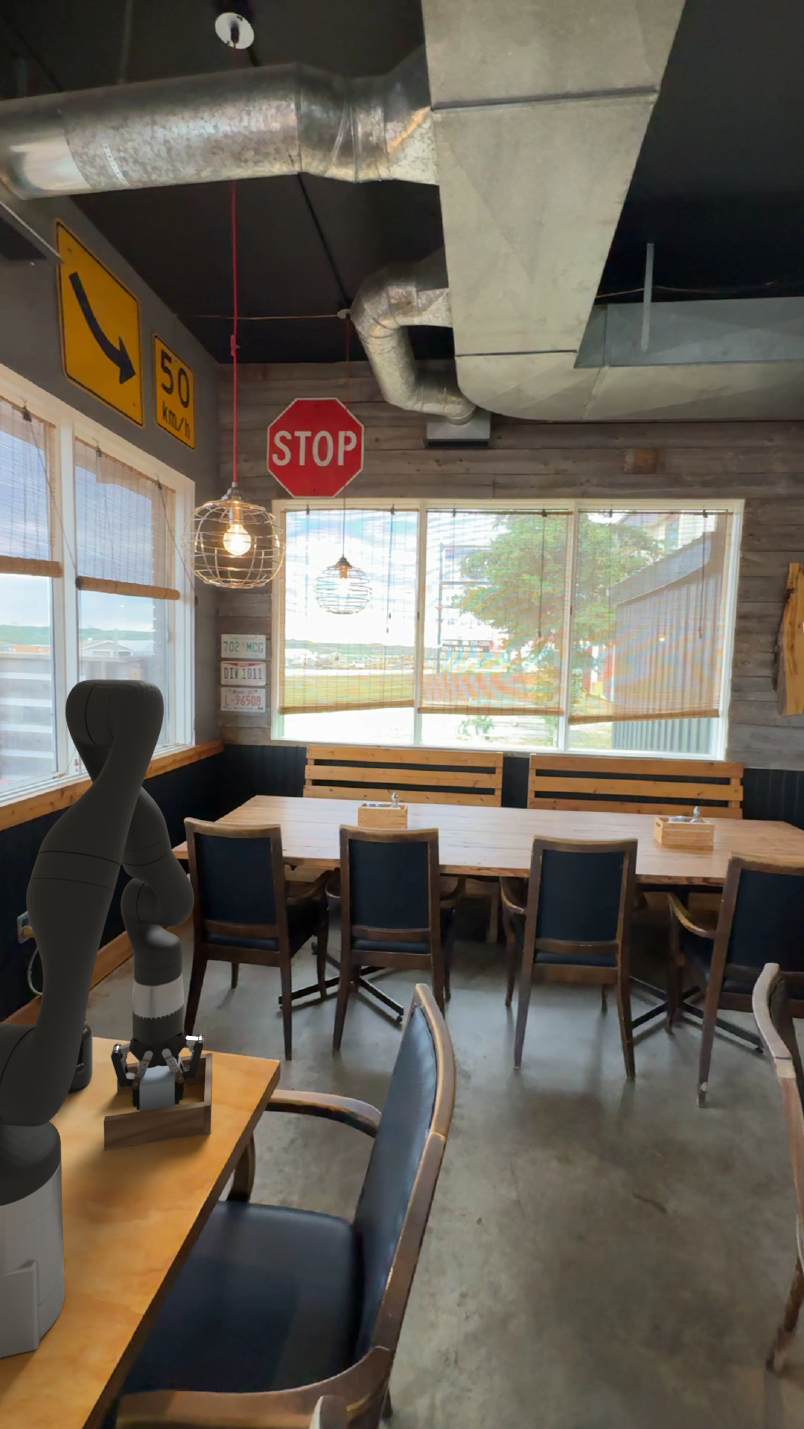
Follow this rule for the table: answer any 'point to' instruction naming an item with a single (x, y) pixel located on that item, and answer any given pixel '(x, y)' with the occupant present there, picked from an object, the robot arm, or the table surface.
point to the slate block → (157, 1088)
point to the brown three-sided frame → (163, 1114)
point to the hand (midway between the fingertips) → (158, 1103)
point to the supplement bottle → (83, 1060)
